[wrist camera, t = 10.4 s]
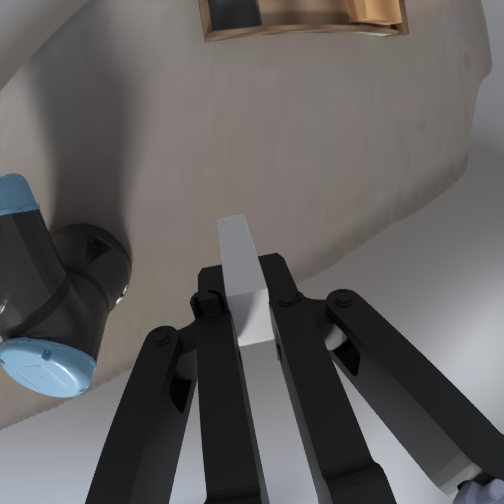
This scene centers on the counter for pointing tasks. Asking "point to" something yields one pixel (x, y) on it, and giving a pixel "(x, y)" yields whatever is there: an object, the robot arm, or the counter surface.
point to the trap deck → (285, 18)
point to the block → (374, 12)
